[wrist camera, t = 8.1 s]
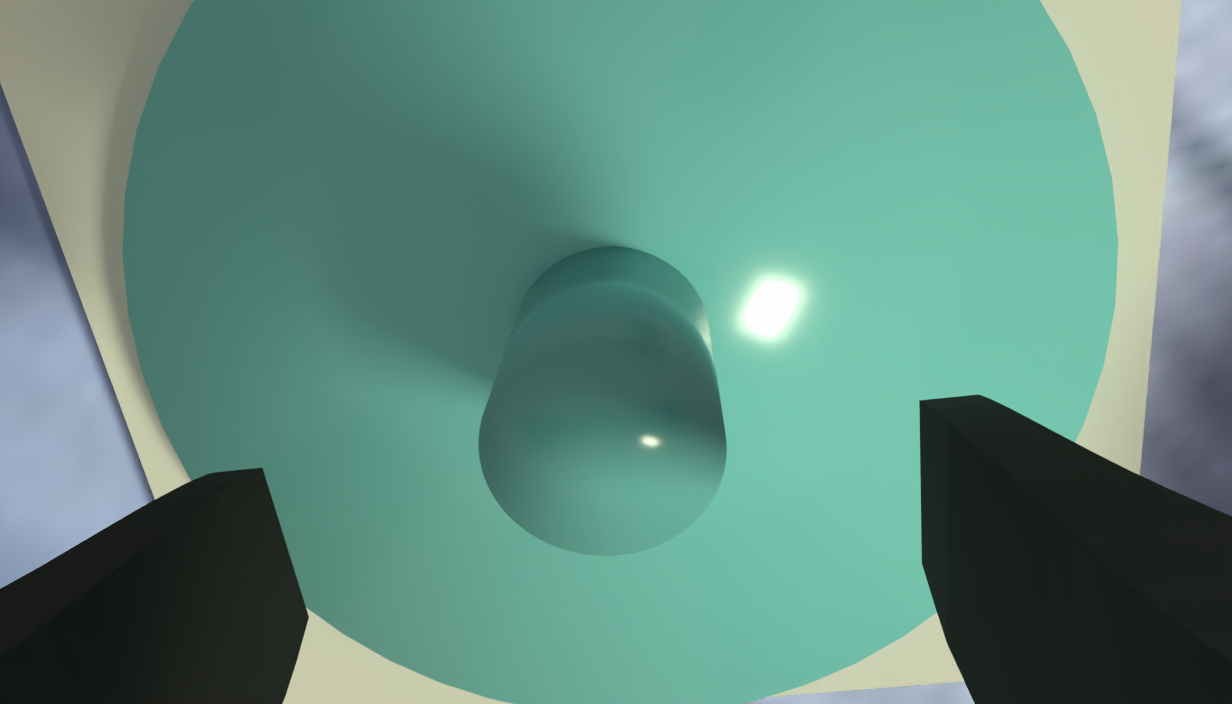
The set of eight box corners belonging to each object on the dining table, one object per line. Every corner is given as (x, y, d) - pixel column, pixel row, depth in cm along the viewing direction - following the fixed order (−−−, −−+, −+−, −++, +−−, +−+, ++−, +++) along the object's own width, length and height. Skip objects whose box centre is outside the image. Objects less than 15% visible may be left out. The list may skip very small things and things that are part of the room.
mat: (1193, -354, 12) (1213, -365, 12) (1111, 650, 19) (1122, 669, 18) (-63, -150, 14) (-88, -153, 13) (253, 719, 20) (243, 738, 20)
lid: (1155, -274, 12) (1392, -369, 8) (1051, 666, 18) (1161, 871, 14) (16, -153, 13) (-254, -188, 9) (267, 702, 19) (168, 902, 15)
